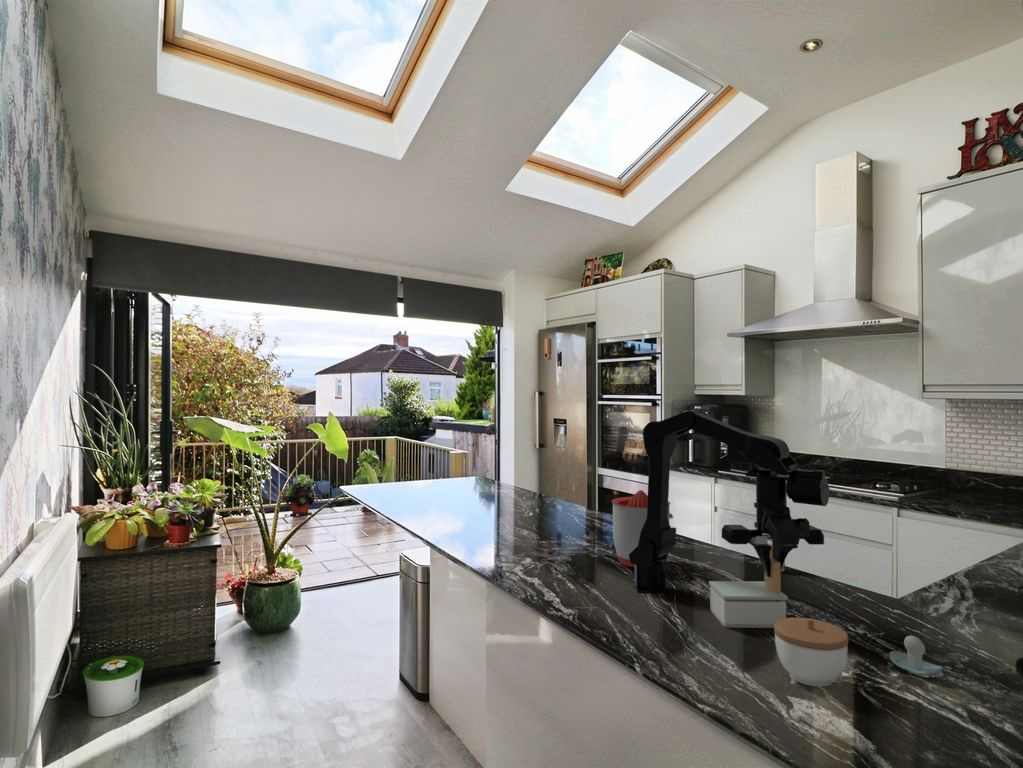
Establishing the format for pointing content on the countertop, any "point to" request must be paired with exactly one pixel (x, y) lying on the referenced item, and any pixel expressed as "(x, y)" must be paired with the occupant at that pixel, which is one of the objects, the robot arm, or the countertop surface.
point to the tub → (746, 612)
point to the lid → (753, 587)
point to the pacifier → (915, 659)
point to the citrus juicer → (629, 524)
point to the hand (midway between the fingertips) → (772, 576)
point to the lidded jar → (811, 650)
